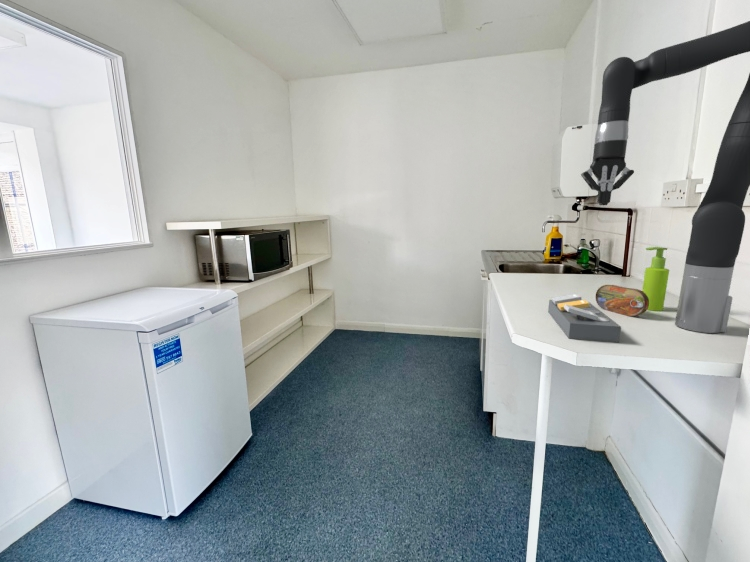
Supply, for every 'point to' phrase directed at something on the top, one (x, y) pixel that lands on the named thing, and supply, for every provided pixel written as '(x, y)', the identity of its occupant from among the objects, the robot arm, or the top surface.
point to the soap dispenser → (656, 280)
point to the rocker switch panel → (585, 324)
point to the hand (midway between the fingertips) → (603, 205)
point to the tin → (622, 300)
